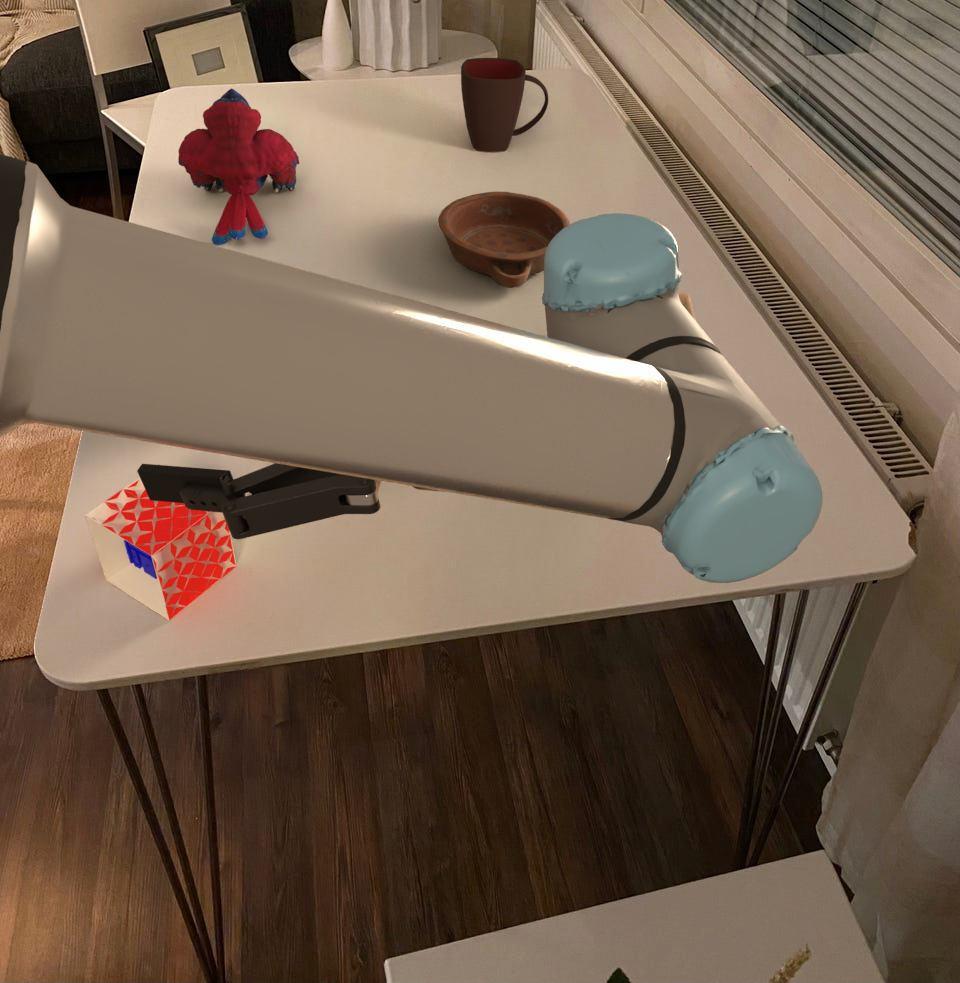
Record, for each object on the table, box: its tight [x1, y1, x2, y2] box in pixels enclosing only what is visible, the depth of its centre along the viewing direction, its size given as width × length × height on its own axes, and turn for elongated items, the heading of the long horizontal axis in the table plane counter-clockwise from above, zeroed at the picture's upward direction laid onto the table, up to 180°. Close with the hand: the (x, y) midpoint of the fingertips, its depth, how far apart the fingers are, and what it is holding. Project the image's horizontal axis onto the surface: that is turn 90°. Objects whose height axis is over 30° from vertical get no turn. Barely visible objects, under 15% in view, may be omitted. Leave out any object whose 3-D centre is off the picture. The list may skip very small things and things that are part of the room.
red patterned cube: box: [84, 477, 237, 622], centre depth 83 cm, size 8×8×8 cm
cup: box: [460, 57, 549, 153], centre depth 152 cm, size 10×14×12 cm
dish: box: [437, 191, 571, 289], centre depth 128 cm, size 17×22×5 cm
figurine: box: [177, 88, 300, 247], centre depth 133 cm, size 16×20×18 cm
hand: (188, 420), depth 71 cm, fingers open, 13 cm apart
